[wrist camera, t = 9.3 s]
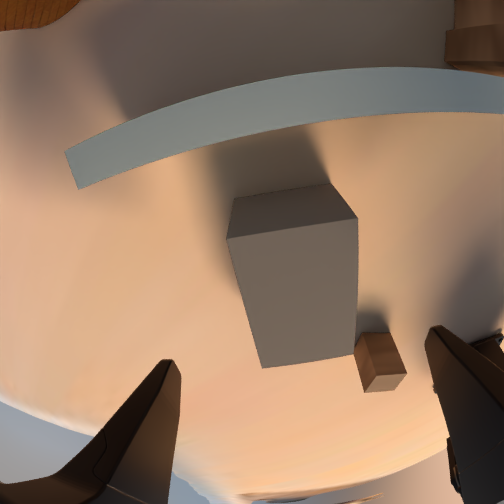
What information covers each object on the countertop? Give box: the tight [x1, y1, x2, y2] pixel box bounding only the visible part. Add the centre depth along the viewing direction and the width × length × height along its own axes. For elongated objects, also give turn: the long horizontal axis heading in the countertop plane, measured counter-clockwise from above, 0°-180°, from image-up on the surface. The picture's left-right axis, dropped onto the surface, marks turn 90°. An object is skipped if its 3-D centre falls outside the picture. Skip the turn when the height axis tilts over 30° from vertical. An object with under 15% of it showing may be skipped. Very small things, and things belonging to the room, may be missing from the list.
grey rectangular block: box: [226, 184, 358, 368], centre depth 13 cm, size 7×4×4 cm, turn 11°
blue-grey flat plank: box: [65, 67, 504, 190], centre depth 8 cm, size 16×1×6 cm, turn 103°
